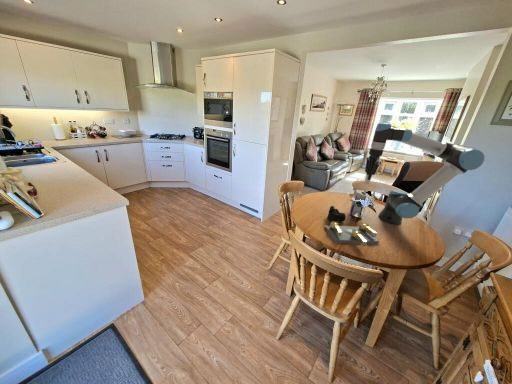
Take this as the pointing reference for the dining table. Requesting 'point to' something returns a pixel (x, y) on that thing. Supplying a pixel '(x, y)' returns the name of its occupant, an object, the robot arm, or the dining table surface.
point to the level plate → (347, 237)
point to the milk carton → (354, 206)
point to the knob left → (358, 237)
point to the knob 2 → (367, 229)
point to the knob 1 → (335, 228)
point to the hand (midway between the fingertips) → (366, 183)
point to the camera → (335, 215)
